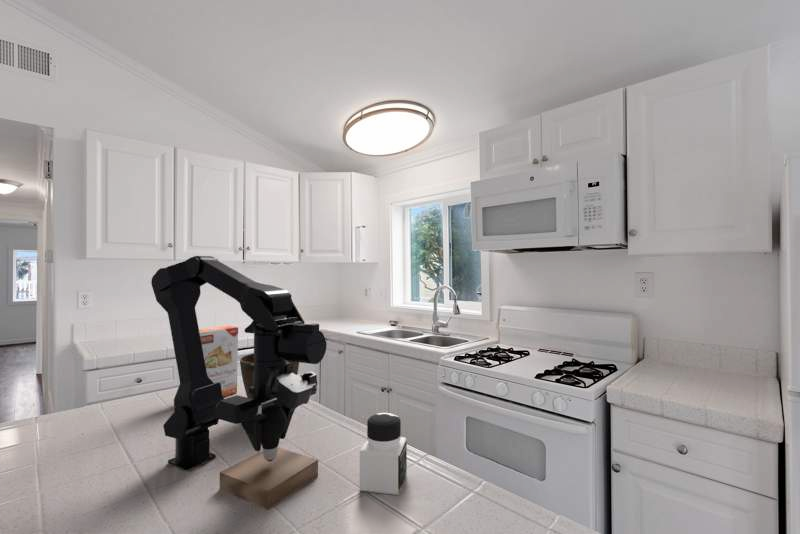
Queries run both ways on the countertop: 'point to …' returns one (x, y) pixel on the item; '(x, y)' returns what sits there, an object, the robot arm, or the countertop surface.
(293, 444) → the countertop surface
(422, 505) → the countertop surface
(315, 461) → the walnut base
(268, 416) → the light bulb
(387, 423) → the medicine bottle
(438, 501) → the countertop surface
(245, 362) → the plant pot
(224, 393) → the cracker box
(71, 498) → the countertop surface
